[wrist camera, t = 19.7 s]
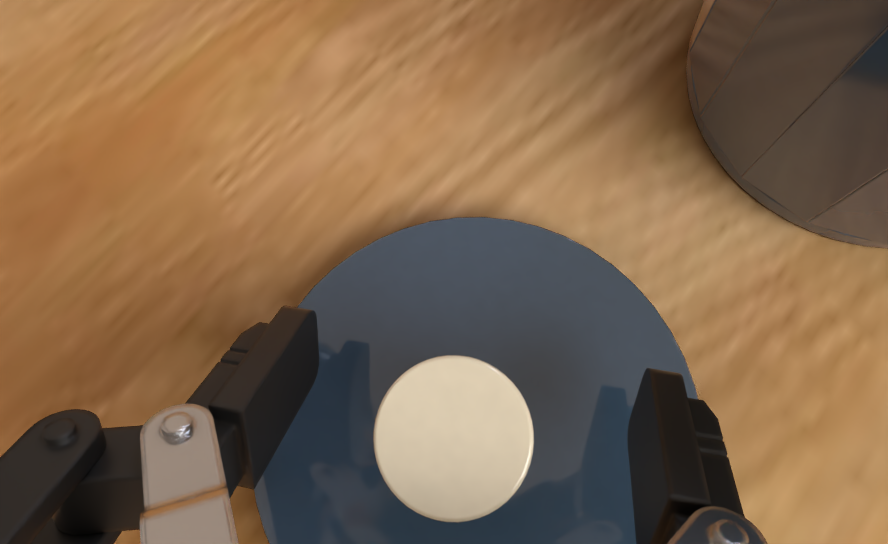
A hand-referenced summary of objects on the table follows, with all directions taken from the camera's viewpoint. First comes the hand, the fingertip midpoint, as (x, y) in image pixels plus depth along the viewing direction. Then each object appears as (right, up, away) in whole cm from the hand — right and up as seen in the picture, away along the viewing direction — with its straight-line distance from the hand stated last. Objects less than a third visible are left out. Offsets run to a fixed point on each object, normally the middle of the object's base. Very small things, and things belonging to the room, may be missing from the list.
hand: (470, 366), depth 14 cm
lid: (0, -2, +2) cm, 3 cm away
